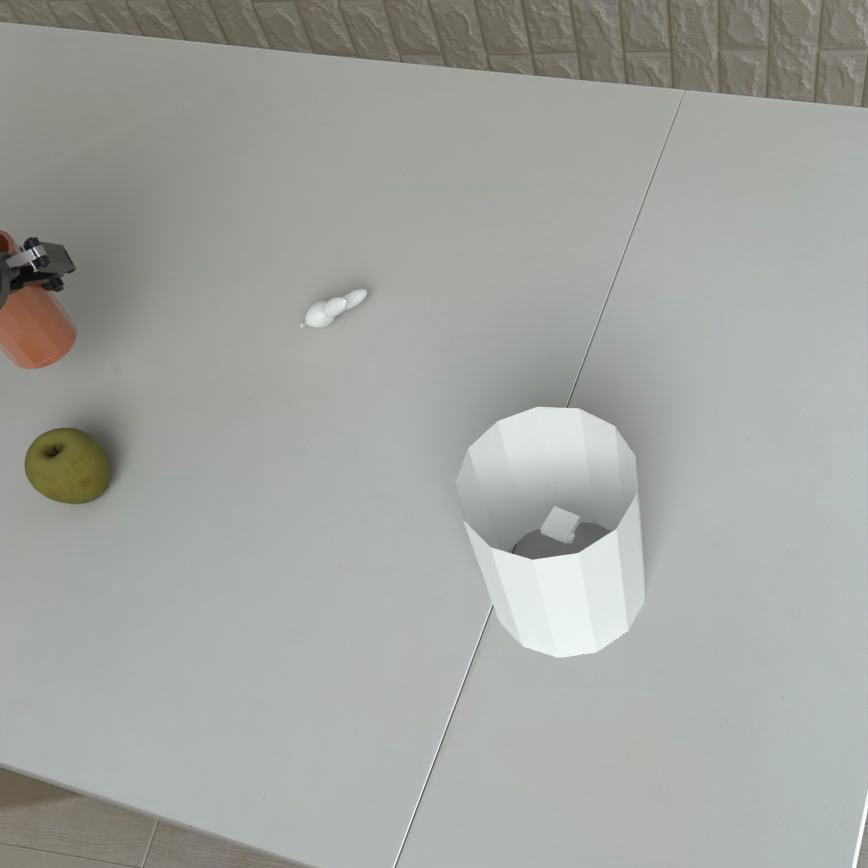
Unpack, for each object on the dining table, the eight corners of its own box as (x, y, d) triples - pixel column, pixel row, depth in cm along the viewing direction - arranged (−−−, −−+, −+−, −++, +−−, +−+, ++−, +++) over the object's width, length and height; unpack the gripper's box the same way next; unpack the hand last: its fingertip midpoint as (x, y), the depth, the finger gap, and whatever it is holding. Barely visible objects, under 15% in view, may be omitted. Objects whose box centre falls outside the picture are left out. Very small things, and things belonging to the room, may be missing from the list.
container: (600, 682, 92) (582, 586, 77) (463, 619, 97) (420, 517, 82) (671, 553, 98) (667, 440, 83) (538, 499, 103) (512, 383, 88)
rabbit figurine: (310, 305, 120) (362, 275, 117) (328, 336, 121) (380, 307, 118) (284, 319, 115) (338, 288, 112) (303, 351, 116) (357, 321, 113)
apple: (75, 451, 114) (40, 411, 107) (136, 466, 111) (104, 426, 105) (37, 508, 110) (-1, 470, 104) (99, 525, 108) (64, 487, 102)
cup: (-2, 370, 107) (-76, 286, 97) (22, 315, 111) (-47, 229, 101) (64, 368, 106) (-3, 284, 96) (86, 313, 110) (24, 226, 99)
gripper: (-146, 374, 85) (-60, 373, 106) (91, 266, 88) (127, 287, 109) (-201, 287, 83) (-102, 304, 105) (43, 180, 86) (89, 219, 108)
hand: (15, 295), depth 107 cm, fingers closed on cup, 7 cm apart
